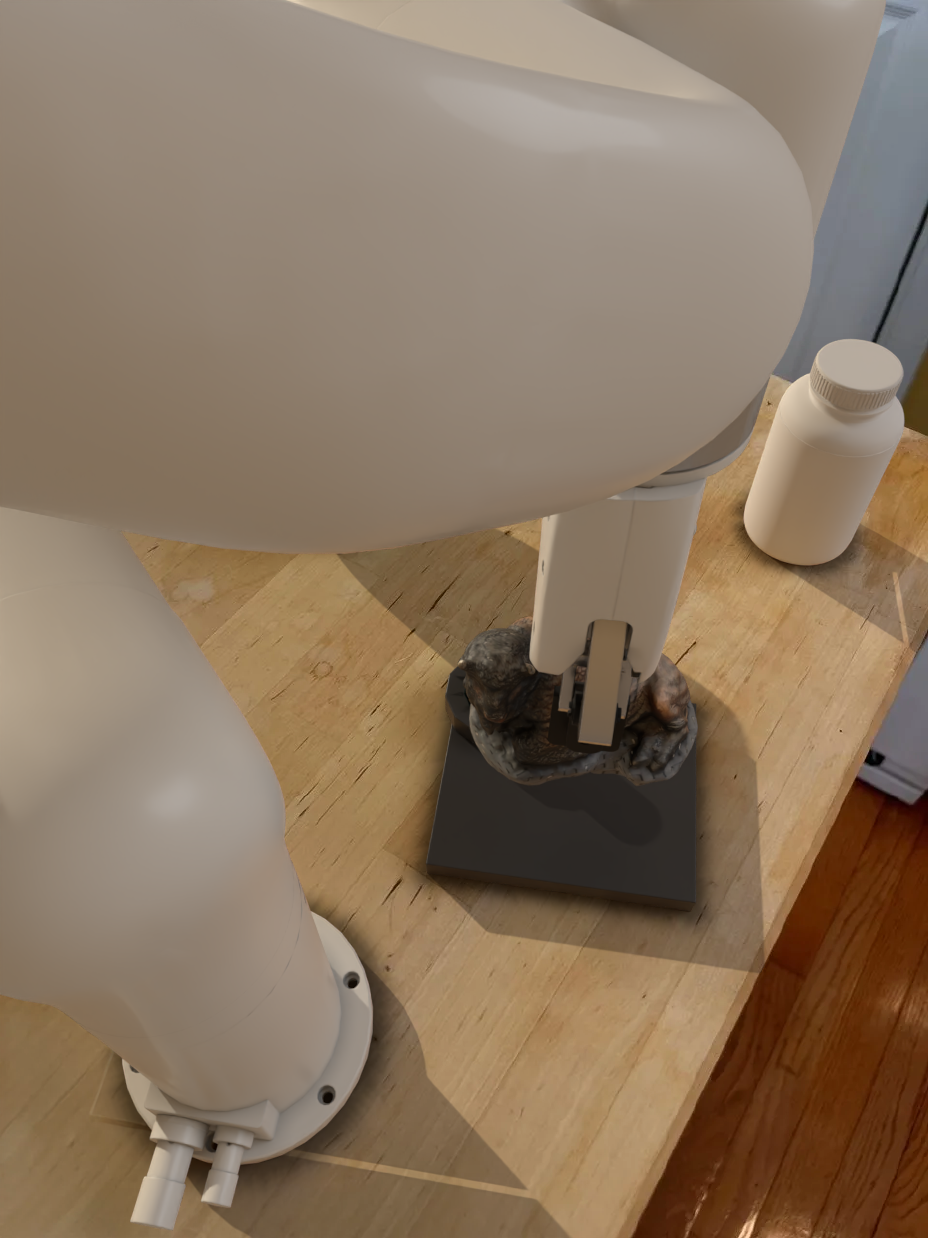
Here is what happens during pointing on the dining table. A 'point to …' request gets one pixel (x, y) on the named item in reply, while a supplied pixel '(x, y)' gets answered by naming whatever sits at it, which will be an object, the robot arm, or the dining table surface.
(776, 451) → the pill bottle
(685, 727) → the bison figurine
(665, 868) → the scale
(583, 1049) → the dining table surface
